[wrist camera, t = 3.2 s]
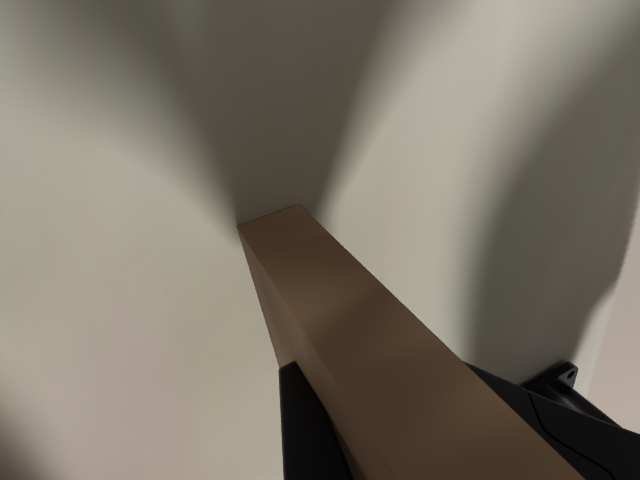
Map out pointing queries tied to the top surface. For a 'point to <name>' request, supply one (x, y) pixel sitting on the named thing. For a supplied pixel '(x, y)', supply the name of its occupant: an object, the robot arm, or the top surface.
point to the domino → (383, 367)
